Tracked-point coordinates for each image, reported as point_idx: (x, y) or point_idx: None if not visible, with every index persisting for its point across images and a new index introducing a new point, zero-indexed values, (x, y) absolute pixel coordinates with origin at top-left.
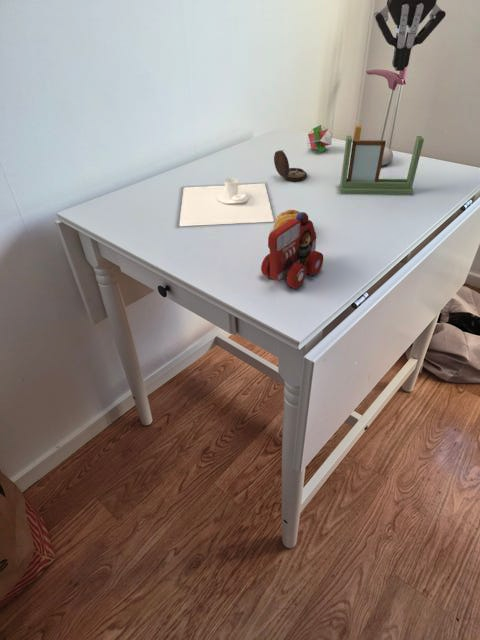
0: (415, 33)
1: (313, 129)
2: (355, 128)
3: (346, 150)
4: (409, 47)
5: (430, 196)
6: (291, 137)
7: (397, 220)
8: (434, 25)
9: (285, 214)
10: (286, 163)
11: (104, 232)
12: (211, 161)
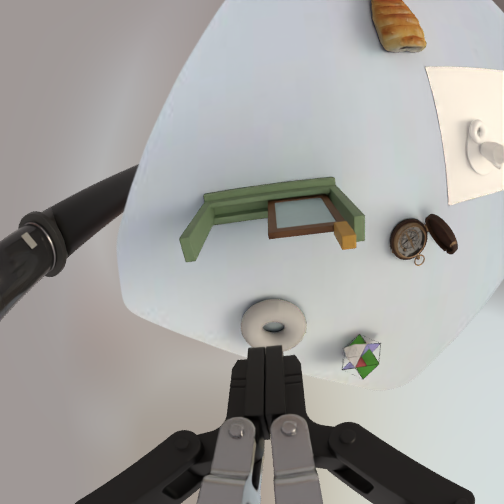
0: (211, 474)
1: (377, 363)
2: (355, 234)
3: (355, 206)
4: (236, 420)
5: (173, 194)
6: (386, 375)
7: (229, 84)
8: (117, 487)
9: (418, 36)
10: (440, 219)
11: None
12: (494, 275)
